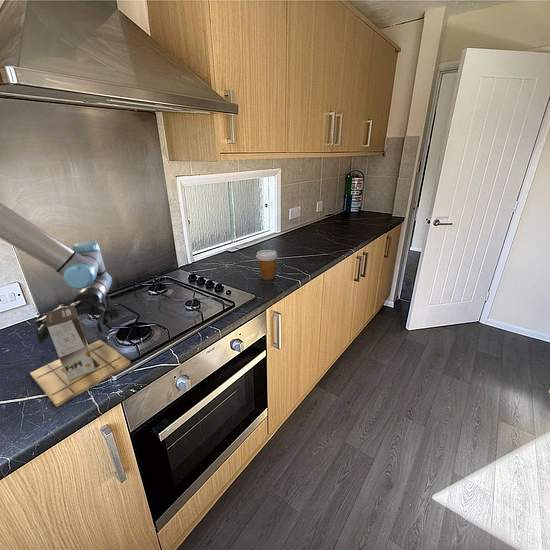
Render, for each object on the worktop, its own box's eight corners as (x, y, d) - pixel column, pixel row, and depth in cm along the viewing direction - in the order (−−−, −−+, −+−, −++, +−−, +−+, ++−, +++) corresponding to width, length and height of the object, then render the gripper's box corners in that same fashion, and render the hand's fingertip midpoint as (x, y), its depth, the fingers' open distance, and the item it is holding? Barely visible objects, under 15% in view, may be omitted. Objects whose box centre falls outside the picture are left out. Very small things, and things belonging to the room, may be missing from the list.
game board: (57, 409, 68) (55, 403, 67) (31, 377, 78) (29, 372, 77) (131, 365, 81) (130, 360, 80) (101, 343, 91) (99, 338, 90)
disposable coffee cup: (265, 272, 140) (264, 248, 135) (282, 276, 134) (281, 251, 130) (253, 279, 133) (251, 254, 128) (269, 283, 127) (268, 258, 123)
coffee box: (96, 370, 77) (78, 317, 71) (67, 381, 74) (46, 327, 67) (91, 353, 84) (74, 303, 78) (64, 362, 80) (44, 312, 74)
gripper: (134, 301, 99) (126, 335, 81) (49, 314, 93) (19, 355, 74) (129, 281, 97) (119, 311, 78) (41, 293, 90) (7, 330, 71)
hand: (70, 333), depth 76 cm, fingers open, 13 cm apart
